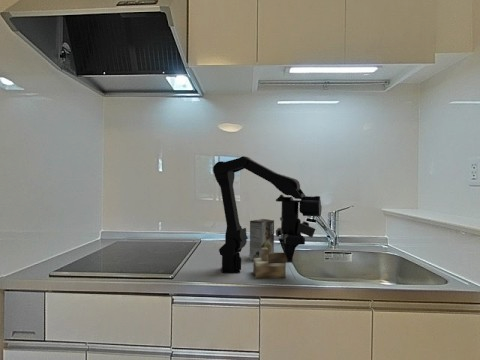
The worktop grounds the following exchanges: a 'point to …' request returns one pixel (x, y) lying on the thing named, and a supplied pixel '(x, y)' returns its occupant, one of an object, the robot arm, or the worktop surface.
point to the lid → (265, 259)
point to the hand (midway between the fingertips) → (289, 261)
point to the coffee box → (261, 237)
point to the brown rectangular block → (278, 258)
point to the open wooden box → (269, 271)
